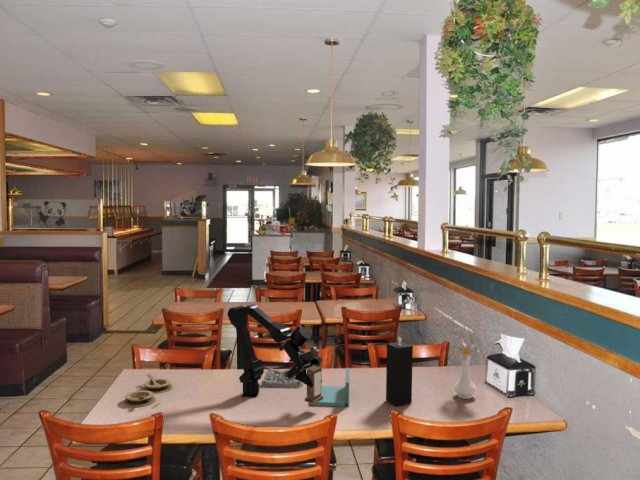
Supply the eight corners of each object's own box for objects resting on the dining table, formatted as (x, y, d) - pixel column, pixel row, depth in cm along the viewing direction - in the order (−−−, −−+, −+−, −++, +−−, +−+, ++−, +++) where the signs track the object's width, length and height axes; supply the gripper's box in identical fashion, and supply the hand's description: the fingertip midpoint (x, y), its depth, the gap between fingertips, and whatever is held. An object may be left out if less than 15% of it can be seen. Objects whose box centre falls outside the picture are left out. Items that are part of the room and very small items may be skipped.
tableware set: (153, 410, 222) (153, 396, 222) (109, 407, 225) (108, 393, 225) (183, 386, 252) (183, 373, 251) (143, 384, 255) (143, 371, 254)
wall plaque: (302, 389, 249) (302, 380, 248) (260, 388, 249) (260, 380, 249) (305, 372, 272) (305, 365, 272) (266, 372, 273) (266, 364, 272)
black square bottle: (396, 407, 226) (397, 340, 224) (385, 400, 233) (386, 336, 231) (411, 403, 230) (413, 338, 228) (400, 397, 237) (401, 334, 235)
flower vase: (469, 388, 250) (470, 334, 248) (486, 403, 231) (488, 344, 230) (441, 389, 248) (443, 334, 246) (457, 404, 230) (458, 345, 228)
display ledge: (310, 405, 227) (310, 381, 227) (313, 388, 247) (313, 367, 247) (348, 406, 226) (349, 382, 226) (349, 389, 246) (349, 368, 246)
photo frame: (304, 401, 220) (304, 369, 219) (313, 396, 225) (313, 365, 224) (314, 403, 217) (315, 371, 216) (323, 399, 222) (323, 367, 221)
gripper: (292, 346, 214) (315, 379, 208) (319, 337, 229) (341, 367, 224) (276, 362, 219) (298, 395, 213) (303, 352, 234) (325, 382, 229)
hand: (317, 384), depth 220 cm, fingers closed on photo frame, 6 cm apart
